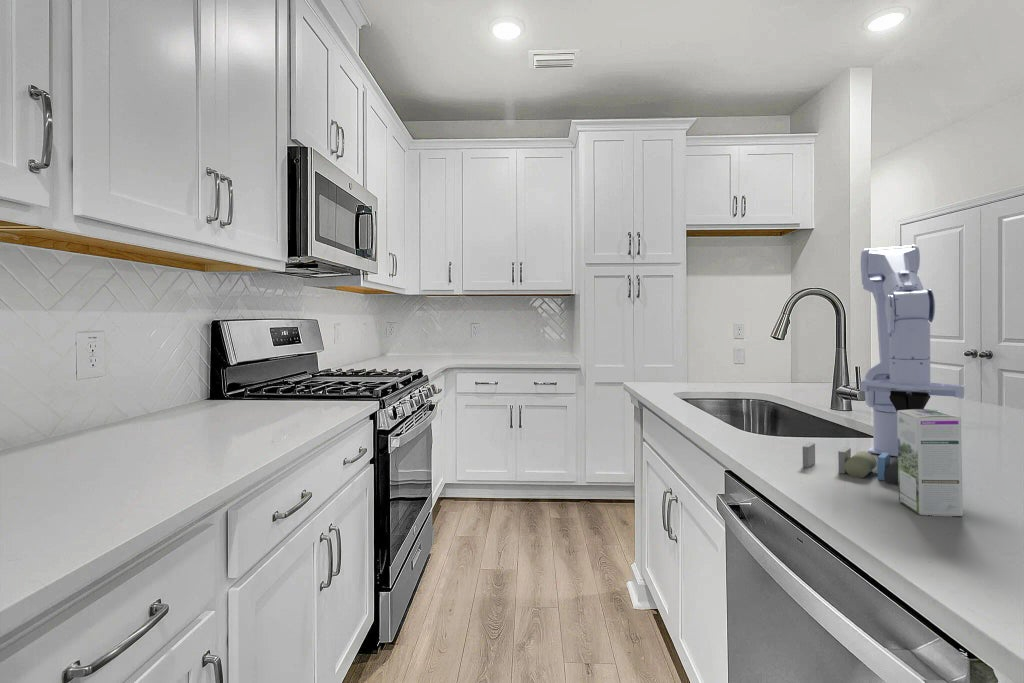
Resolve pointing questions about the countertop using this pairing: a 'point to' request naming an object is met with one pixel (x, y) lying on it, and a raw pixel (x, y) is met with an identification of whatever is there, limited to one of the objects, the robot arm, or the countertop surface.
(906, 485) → the syrup box
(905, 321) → the robot arm
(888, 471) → the dark grey cylinder
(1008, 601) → the countertop surface
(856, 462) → the olive yellow cylinder
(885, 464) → the rectangular blocks
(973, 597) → the countertop surface
